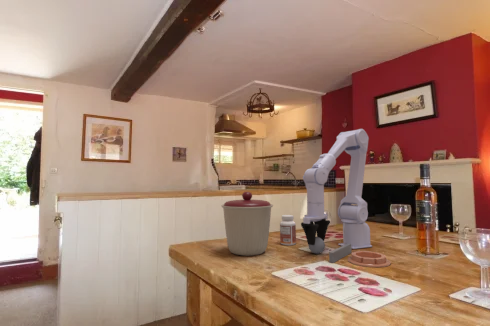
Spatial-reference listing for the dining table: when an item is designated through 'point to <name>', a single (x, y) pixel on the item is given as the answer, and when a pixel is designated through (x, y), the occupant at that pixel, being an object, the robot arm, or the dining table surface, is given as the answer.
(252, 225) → the canister
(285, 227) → the pill bottle
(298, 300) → the dining table surface
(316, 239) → the ball
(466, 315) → the dining table surface
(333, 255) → the low wall
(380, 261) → the bowl
